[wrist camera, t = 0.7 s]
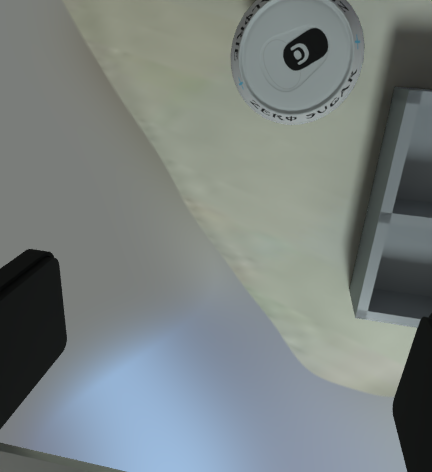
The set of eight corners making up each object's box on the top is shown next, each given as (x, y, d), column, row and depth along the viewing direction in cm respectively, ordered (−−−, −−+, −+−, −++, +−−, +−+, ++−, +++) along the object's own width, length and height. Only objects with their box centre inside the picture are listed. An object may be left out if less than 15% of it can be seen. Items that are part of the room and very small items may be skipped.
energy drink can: (243, 46, 31) (198, 31, 18) (316, -3, 29) (329, -63, 16) (280, 117, 33) (266, 153, 19) (353, 75, 31) (394, 82, 17)
